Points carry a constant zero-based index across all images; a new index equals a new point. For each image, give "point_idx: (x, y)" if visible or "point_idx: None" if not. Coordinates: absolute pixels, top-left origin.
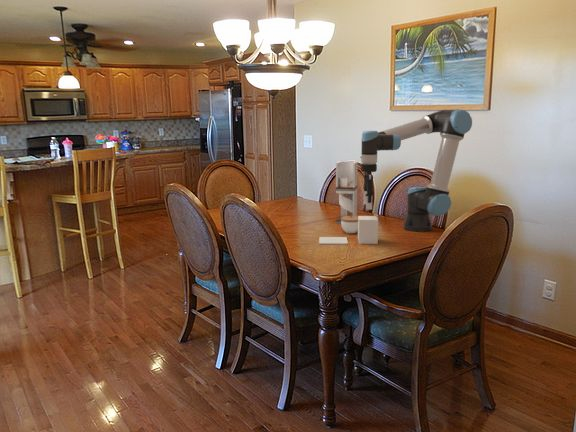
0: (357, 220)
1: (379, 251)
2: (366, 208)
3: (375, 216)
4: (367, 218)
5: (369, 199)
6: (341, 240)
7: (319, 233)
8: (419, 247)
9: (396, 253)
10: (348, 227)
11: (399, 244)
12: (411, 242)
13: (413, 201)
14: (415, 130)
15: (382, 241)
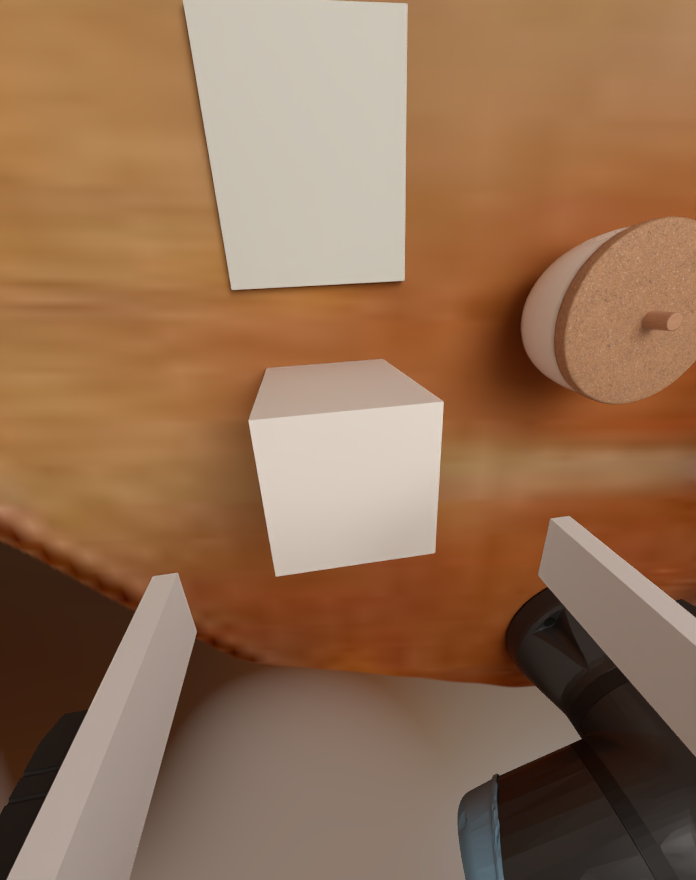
0: (566, 375)
1: (119, 483)
2: (147, 589)
3: (412, 550)
4: (324, 493)
5: (30, 822)
6: (306, 237)
7: (560, 21)
8: (246, 637)
9: (107, 559)
10: (535, 295)
11: None
12: (328, 610)
13: (654, 782)
14: None
15: None
